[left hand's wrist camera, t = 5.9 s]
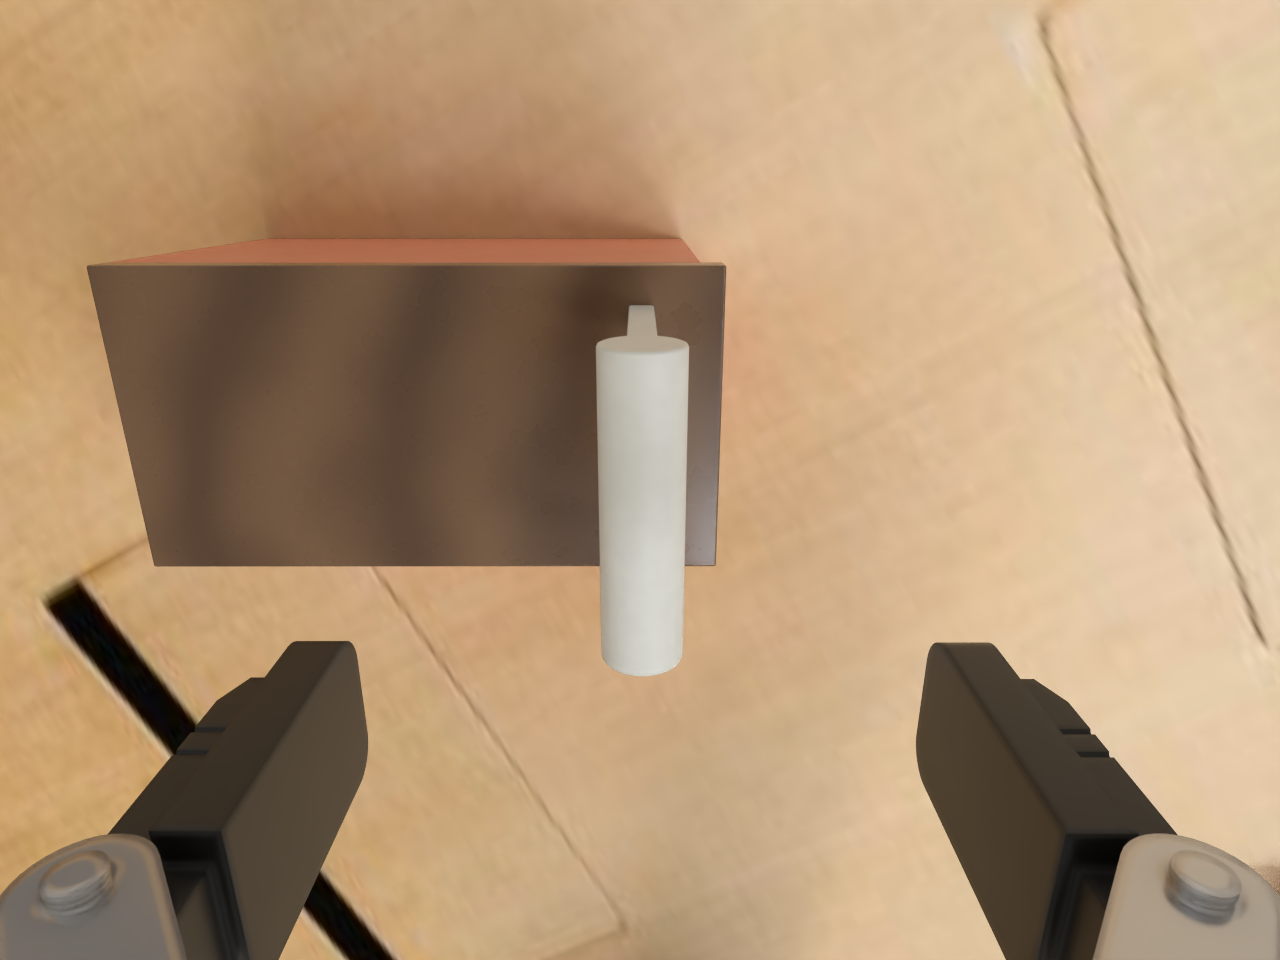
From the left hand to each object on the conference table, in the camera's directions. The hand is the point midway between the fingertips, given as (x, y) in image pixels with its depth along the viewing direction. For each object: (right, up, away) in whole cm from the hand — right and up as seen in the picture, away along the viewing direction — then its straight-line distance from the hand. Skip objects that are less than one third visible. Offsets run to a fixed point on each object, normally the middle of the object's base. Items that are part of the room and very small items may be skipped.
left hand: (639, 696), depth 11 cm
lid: (-6, +5, +14) cm, 16 cm away
